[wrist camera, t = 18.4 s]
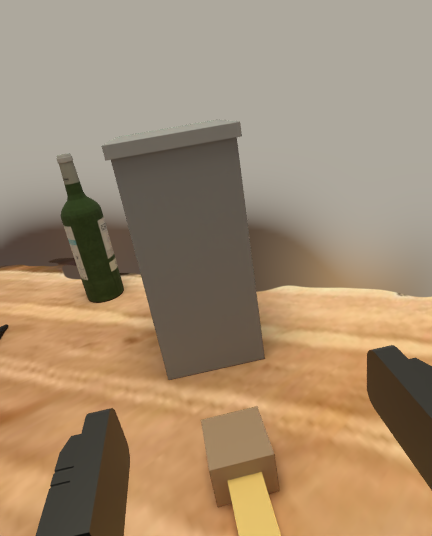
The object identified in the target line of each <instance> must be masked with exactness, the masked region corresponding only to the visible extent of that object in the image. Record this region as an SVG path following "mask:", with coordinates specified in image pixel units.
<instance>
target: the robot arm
mask: <svg viewBox="0 0 432 536" xmlns="http://www.w3.org/2000/svg"><path fill="white" fill-rule="evenodd" d="M367 391H368V395H369V398H370V401H371V403H372V405H373V407H374V409H375V410H376V411H377V413H378V414H379V416H380V417H381V419H382V420H383V421H384V423H385V424H386V426H387V427H388V429H389V430H390V431H391V433H392V434H393V436H394V437H395V439H396V440H397V441H398V443H399V444H400V446H401V447H402V448H403V450H404V451H405V453H406V454H407V456H408V457H409V458H410V460H411V461H412V463H413V464H414V466H415V467H416V468H417V470H418V471H419V473H420V474H421V476H422V477H423V478H424V480H425V481H426V483H427V484H428V486H429V487H430V488H431V490H432V366H430V365H428V364H426V363H424V362H423V361H421V360H419V359H417V358H412V359H408V358H407V357H406V356H405V355H404V354H403V353H402V352H401V351H400V350H399V349H398V348H397V347H395V346H393V345H391V346H386V347H382V348H377V349H373V350H369V351H368V353H367ZM129 468H130V455H129V448H128V444H127V441H126V438H125V436H124V433H123V430H122V428H121V425H120V422H119V420H118V417H117V415H116V412H115V410H114V409H113V408H111V409H106V410H102V411H98V412H93V413H89V414H87V415H86V418H85V422H84V426H83V430H82V434H79V435H74V436H71V437H70V439H69V440H68V442H67V443H66V445H65V446H64V447H63V449H62V450H61V452H60V454H59V457H58V461H57V464H56V467H55V474H53V478H52V481H51V485H50V486H51V488H50V489H49V492H48V495H47V498H46V502H45V505H44V509H43V512H42V516H41V519H40V522H39V526H38V529H37V533H36V536H124V525H125V514H126V502H127V491H128V479H129Z"/></svg>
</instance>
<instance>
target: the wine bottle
mask: <svg viewBox="0 0 432 536" xmlns="http://www.w3.org/2000/svg"><path fill="white" fill-rule="evenodd" d="M57 161H58V163H59V166H60V169H61V173H62V176H63V181H64V184H65V188H66V191H67V195H68V199H67V202H66V203H65V205H64V207H63V209H62V211H61V219H62V222H63V225H64V228H65V231H66V234H67V237H68V240H69V243H70V246H71V249H72V252H73V255H74V258H75V261H76V264H77V267H78V270H79V273H80V276H81V279H82V282H83V285H84V288H85V291H86V294H87V297H88V299H89V300H90V301H92V302H105V301H109V300H111V299H114V298H116V297H117V296H119V295H120V294H121V293H122V292H123V290H124V288H123V284H122V280H121V277H120V273H119V270H118V266H117V263H116V259H115V256H114V252H113V249H112V245H111V242H110V238H109V234H108V231H107V228H106V224H105V221H104V217H103V214H102V210H101V207H100V206H99V204H98V203H97V202H95V201H94V200H92V199H90V198H89V197H87V196H86V195H85V194H84V192H83V190H82V187H81V184H80V181H79V178H78V175H77V172H76V169H75V166H74V163H73V158H72V156H71V155H70V153H69V154H62V155H58V156H57Z"/></svg>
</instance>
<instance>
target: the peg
mask: <svg viewBox="0 0 432 536" xmlns="http://www.w3.org/2000/svg"><path fill="white" fill-rule="evenodd" d="M201 423H202V430H203V436H204V442H205V448H206V455H207V461H208V467H209V472H210V477H211V481H212V485H213V489H214V494H215V498H216V502H217V506H218V507H221V506H224V505H228V504H232V505H233V510H234V515H235V520H236V525H237V529H238V534H239V536H281V534H280V530H279V527H278V524H277V520H276V517H275V514H274V511H273V507H272V504H271V501H270V498H269V494H270V493H274V492H277V491H279V485H278V477H277V469H276V462H275V454H274V451H273V449H272V446H271V443H270V440H269V438H268V435H267V432H266V429H265V426H264V424H263V421H262V418H261V415H260V413H259V410H258V407H257V406H256V407H252V408H248V409H244V410H240V411H236V412H232V413H227V414H223V415H219V416H215V417H211V418H207V419H203V420H201Z"/></svg>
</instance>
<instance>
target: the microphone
mask: <svg viewBox="0 0 432 536" xmlns="http://www.w3.org/2000/svg"><path fill="white" fill-rule="evenodd" d="M7 327H8V325H4V326H2V327H0V338H1V336H2V333H3V332H4V331H5V330H6V329H7Z"/></svg>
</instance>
